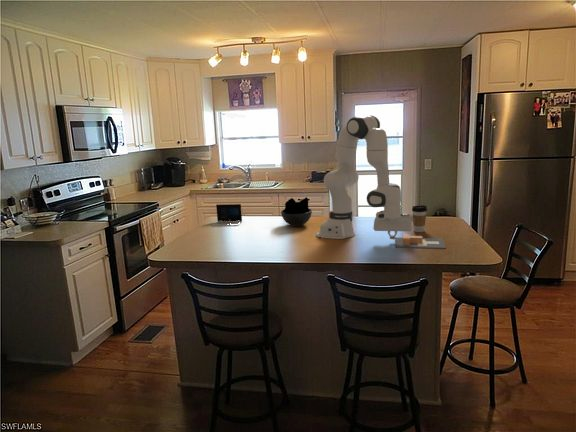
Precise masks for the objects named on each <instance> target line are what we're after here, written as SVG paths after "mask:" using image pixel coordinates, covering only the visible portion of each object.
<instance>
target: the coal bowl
mask: <svg viewBox="0 0 576 432" xmlns="http://www.w3.org/2000/svg"><path fill="white" fill-rule="evenodd" d="M284 206H285V207H284V209H282V210H281V211H280V214H281V217H282V219H283V221H284V222H285V223H287V225H290V226H292V227H300V226H303V225H305V224H307V222H309V220H310V219H311V217H312V213H313V210H312V209H310V207H309V198H308V197H307V196H305V197H304V198H303V199H301V200H300V201H297V202H296V200H295V199H294V198H293V197H291V198H290V199H288V201H286V202H285V203H284Z"/></svg>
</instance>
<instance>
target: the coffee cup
mask: <svg viewBox="0 0 576 432" xmlns="http://www.w3.org/2000/svg"><path fill="white" fill-rule="evenodd" d="M427 211H428V208H427V205H425V204H424V205H422V204H421V205H413V206H412V208H411V212H412V217H413V221H412V222H413V223H412V226H413V232H415V233H423V232H425V227H426V219H427Z"/></svg>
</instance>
